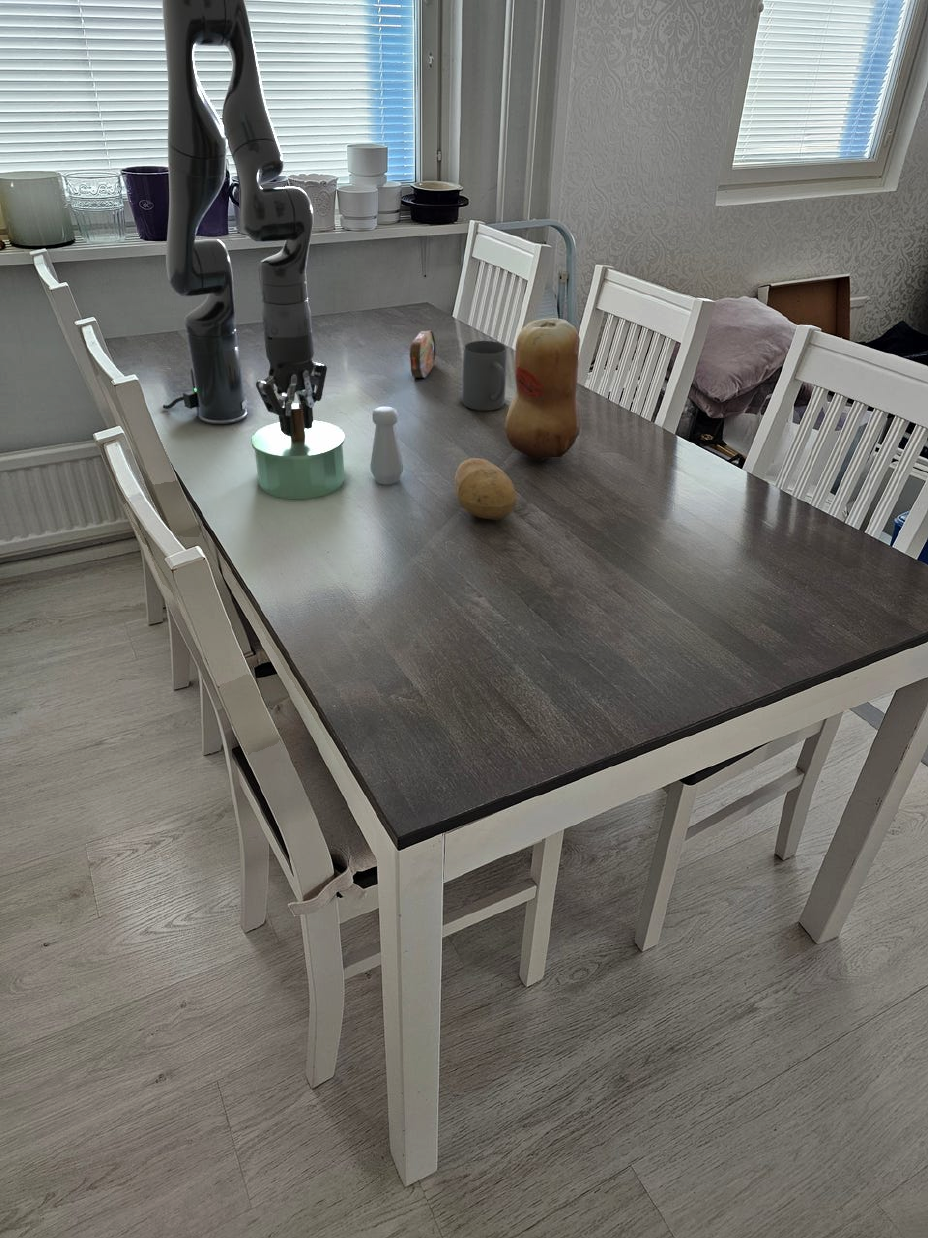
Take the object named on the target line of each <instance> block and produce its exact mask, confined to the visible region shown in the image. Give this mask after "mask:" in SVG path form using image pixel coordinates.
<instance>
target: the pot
mask: <svg viewBox="0 0 928 1238" xmlns="http://www.w3.org/2000/svg"><path fill="white" fill-rule="evenodd" d="M254 453H255V454H254V455H255V461H256V462H255V463H256V470H257V478H258V483H259V486H260V488H261V490H262V491H263V492H265V493H266V494H268V495H270V496H273V497H276V498H279V499H286V500H310V499H316V498H321V497H323V496H326V495H329V494H332V493H334V492H336V491H337V490H339V489H340V488H341V487H342V485H343V484H344V482H345V465H344V463H345V462H344V447H343V445H342V446H341V447H340V448H338V449H337V450H335V451H333V452H331V453H329V454H326V455H323V456H319V457H315V458H308V459H295V460H293V459H278V458H273V457H269V456H265V455H263V454H261V453H259V452H257V451H256V450H255V449H254Z"/></svg>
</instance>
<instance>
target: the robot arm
mask: <svg viewBox="0 0 928 1238" xmlns="http://www.w3.org/2000/svg"><path fill="white" fill-rule="evenodd" d="M161 7H162V22H163V23H162V25H163V33H164V34H163V35H164V46H165V47H164V49H165V59H166V71H167V97H168V98H167V163H168V164H167V165H168V189H169V191H168V193H169V195H168V196H169V197H168V198H169V201H168V202H169V203H168V204H169V205H168V221H167V222H168V223H167V232H166V233H167V235H166V249H165V268H166V274H167V279H168V282H169V284H170V287H171V289H172V290H173V292H174V293H176V294H177V295H178V296H181V297H198V296H205V295H207V296H206V298H205V300H204V301H203V302H202V303H201V304H200V305H199V306H197V307H196V308H194V309H193V310H191V311H190V312H188V313H187V314H186V316H185V317H184V326H185V327H184V328H185V333H186V338H187V345H188V352H189V358H190V363H191V368H190V369H189V372H190V377H191V384H192V389H191V390H188V391H184V392H182V396H180V397H178V398H175V399H174V400H172V401H171V402H170V404H167V405H166V404H163V405H162V408H163V409H166V410H169V409H172V408H173V407H174V406H175V405H176V404H178V403H179V402H182V401H183V403H184V407H185V408H188V409H190V410H191V409H196V415H198V417H199V420H200V421H201V422H203V423H206V424H210V425H229V424H235V423H238V422H240V421H242V420H245V419H246V418H247V417H248V410H247V406H248V398H246V397H245V390H244V389H245V388H244V382H243V381H244V380H243V372H242V366H241V358H240V357H241V356H240V349H239V343H238V335H237V329H236V328H237V326H236V304H235V293H234V292H235V291H234V277H233V267H232V262H231V257H230V254H229V251H228V249H227V247H226V245H225V244H224V243H223V242H222V241H221V240H220V239H217V238H205V239H196V236H197V232H198V229H199V226H200V224H201V221H202V220H203V218H204V216H205V215H206V213H207V212H208V211H209V210H210V207H211V206H212V204H213V202H214V201H215V200H216V198H217V197H218V196H219V193H220V192H221V189H222V187H223V186H224V183H225V180H226V174H227V157H228V156H227V155H228V154H227V153H228V149H229V152H230V154H231V157H232V160H233V163H234V166H235V170H236V176H237V183H238V192H239V193H238V194H239V195H238V196H239V217H240V223H241V226H242V228H243V230H244V232H245V234H246V235H247V236H248V237H249V238H250V239H251V240H253V241H254V242H256V243H272V242H283V241H284V244H283V245H282V249H281V250H280V251H279V252H278V253H277V252H276V254H273V255H270V256H268V257H266V258H264V259H262V260H261V261H260V263H259V265H258V276H259V284H260V294H261V318H262V319H261V320H262V327H263V337H264V345H265V355H266V358H267V360H268V363H269V370H268V376H267V377H266V378H265V379H263V380H257V381H256V382H255V386H256V389H257V391H258V393H259V396H260V398H261V401H262V402H263V404H264V407H265V409H266V410H267V412H268V413H272V414H274V415H276V416H278V420H279V422H278V423H280V430H281V432H282V433H283V434H284V435H286V436H289V437H291V436H293V435H294V426H293V416H292V415H291V411H292V404H293V403H294V402H295V399H296V398H295V397H297V401H298V404H301V405H303V411H304V422H305V429H308V430H309V429H311V428H312V424H313V421H314V411H313V410H314V409H313V407H314V406H315V403H316V402H320V401H321V400H322V396H323V392H324V386H325V381H326V377H327V370H328V367H327V365H325V364H321V363H319V362H316V361H313V358H314V356H315V351H314V339H313V325H312V314H311V308H310V303H309V296H308V295H309V294H308V284H307V283H308V282H307V264H308V257H309V250H310V244H311V240H312V234H313V228H314V220H315V219H314V218H315V217H314V208H313V204H312V202H311V199H310V198H309V196H308V194H307V193H306V192H305V191H304V190H303V189H302V188H300V187H296V186H285V187H284V186H283V187H272V188H271V187H270V188H262V187H261V185H264V184H268V183H269V182H272V181H274V180H275V179H277V178H278V177H280V175H282V174H281V173H283V170H284V166H285V163H284V157H283V154H282V151H281V148H280V145H279V142H278V139H277V136H276V133H275V130H274V127H273V123H272V121H271V119H270V115H269V111H268V108H267V105H266V100H265V97H264V92H263V91H264V90H263V86H262V80H261V75H260V68H259V64H258V57H257V53H256V47H255V43H254V38H253V32H252V27H251V23H250V22H251V21H250V17H249V13H248V9H247V5H246V0H161ZM196 46H205V47H207V46H208V47H209V46H210V47H226V49H227V51H228V52H229V55H230V59H231V66H232V67H231V72H230V73H231V74H230V79H229V82H228V86H227V89H226V94H225V97H224V101H223V105H222V111H221V112H222V113H221V119H220V117H219V115H218V114H217V112H216V110H215V108H214V106H213V105H212V103H211V102H210V99H209V98H208V96H207V95H206V93H205V90H204V89H203V87H202V85H201V82H200V80H199V77H198V75H197V71H196V66H195V57H194V54H195V53H194V52H195V51H194V50H195V47H196Z"/></svg>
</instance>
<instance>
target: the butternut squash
mask: <svg viewBox="0 0 928 1238" xmlns="http://www.w3.org/2000/svg"><path fill="white" fill-rule="evenodd" d="M580 344H581V338H580V335H579V332H578V330H577V328H576V327H575V326H574V325H573V324H571V323H570V322H569V321H567V320H565V319H562V318H557V317H555V318H552V317H551V318H541V319H536V320H534V321H530V322H529V323H527V324H526V325H525V326H524V327H522V328H521V330H520V331H519V333H518V335H517V338H516V341H515V349H514V362H513V365H514V366H513V368H514V370H513V371H514V372H513V373H514V381H515V385H516V389H515V395H514V396H513V399H512V401H511V403H510V405H509V408H508V410H507V414H506V417H505V425H504V426H505V429H504V431H505V436H506V438H507V440H508V443H509V444H510V446H511V447H512V448H514V449H515V450H516V451H517V452H519V453H521V454H522V455H524V456H526V457H527V458H529V459H531V460H535V461H538V462H542V461H544V460H545V459H550V458H558V459H559V458H562V457H563V456H564V455H565V454H566V453H568V452H569V451H570V449H571V448H572V447H573V445H574V444H575V442H576V440H577V438H578V437H579V435H580V431H581V429H580V428H581V418H580V410H579V409H580V408H579V405H578V402H577V390H578V389H577V388H578V376H579V375H578V374H579V357H580Z"/></svg>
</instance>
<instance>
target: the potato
mask: <svg viewBox="0 0 928 1238" xmlns="http://www.w3.org/2000/svg"><path fill="white" fill-rule="evenodd" d="M454 477H455V478H454V490H455V495H456V496H457V499H458V503H459V505H460V507H461V508H462V509H463V510H465V511H467V512H468V513H470V514H472V515H473V516H475V517H476V518H479V519H487V520H493V521H497V520H500V519H502V518H505V517H508V516H509V515H510V513H511V512H512V511H513V510H514V509H515V508H516V503H517V492H516V489H515V485H514V483H513V481H512V479H511V478H510V477H509V476H508V474H506V473H505V472H504V470H502V469H501V468H499V467H498V466H497V465H495V464H494V463H492V462H491V461H489V460H487V459H484V458H480V457H471V458H469V459H465V460H463V461H462V462H461V463H460V464H459V466H458V467H457V469H456V472H455V475H454Z"/></svg>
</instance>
